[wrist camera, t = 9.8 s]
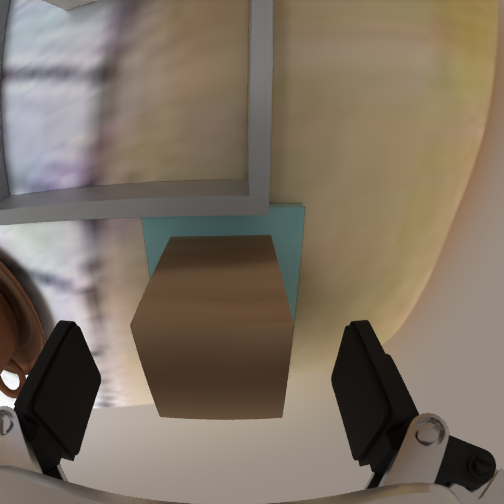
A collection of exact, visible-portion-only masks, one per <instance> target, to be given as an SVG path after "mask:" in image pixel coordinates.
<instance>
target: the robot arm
mask: <svg viewBox="0 0 504 504" xmlns="http://www.w3.org/2000/svg"><path fill="white" fill-rule="evenodd" d="M331 381H332V386H333V389H334V393H335V396H336V399H337V403H338V406H339V409H340V413H341V417H342V420H343V424H344V427H345V431H346V434H347V438H348V441H349V445H350V449H351V452H352V456H353V458H354V460H358V461H359V465H360V466H364V465H368V464H370V467H371V470H372V472H373V474H372V475H371V477H370V479H369V481H368V483H367V484H366V486H365V488H364V490H360V491H356V492H351V493H347V494H341V495H335V496H329V497H323V498H315V499H308V500H301V501H292V502H283V503H272V504H504V470H503V469H501V468H500V469H499V470H497V469H496V463H495V459H494V457H493V455H492V454H491V453H490V452H488V451H487V450H485V449H482V448H480V447H477V446H475V445H472V444H469V443H467V442H465V441H462V440H460V439H457V438H455V437H453V436H450V435H449V429H448V426H447V424H446V422H445V421H444V420H443V419H442V418H441V417H439V416H437V415H435V414H431V413H423V414H421V415H419V413H418V411H417V409H416V407H415V405H414V402H413V400H412V398H411V396H410V394H409V392H408V390H407V387H406V386H405V383H404V382H403V379H402V377H401V375H400V373H399V371H398V369H397V367H396V365H395V363H394V361H393V359H392V358H391V356H390V355H388V354H385V352H384V350H383V348H382V346H381V344H380V342H379V340H378V338H377V336H376V334H375V332H374V330H373V328H372V326H371V324H370V323H369V321H368V320H361V321H352V322H351V323H350V325H349V326H346V327H345V330H344V334H343V337H342V341H341V345H340V348H339V352H338V356H337V359H336V362H335V366H334V370H333V373H332V377H331ZM100 384H101V375H100V372H99V370H98V368H97V366H96V364H95V362H94V359H93V357H92V355H91V353H90V350H89V348H88V345H87V343H86V341H85V338H84V336H83V333H82V331H81V328H80V327H79V326H77V325H76V323H75V322H73V321H63V320H61V321H59V322H58V323H57V325H56V327H55V328H54V330H53V332H52V333H51V335H50V337H49V339H48V340H47V342H46V344H45V346H44V347H43V349H42V351H41V353H40V354H39V356H38V358H37V360H36V362H35V364H34V365H33V367H32V369H31V371H30V373H29V375H28V377H27V379H26V381H25V383H24V385H23V387H22V389H21V391H20V393H19V395H18V397H17V399H16V401H15V403H14V405H15V408H14V410H13V409H12V408H10V407H8V406H1V407H0V504H188V503H176V502H166V501H158V500H150V499H143V498H137V497H131V496H125V495H120V494H115V493H110V492H105V491H101V490H97V489H92V488H88V487H85V486H81V485H77V484H73V483H70V482H68V480H67V478H66V476H65V474H64V472H63V470H62V468H61V465H60V460H61V458H64V459H67V460H71V461H74V457H75V455H77V454H78V453H79V451H80V447H81V444H82V440H83V437H84V434H85V430H86V427H87V424H88V420H89V417H90V414H91V410H92V408H93V405H94V402H95V398H96V395H97V392H98V390H99V387H100ZM269 504H271V503H269Z"/></svg>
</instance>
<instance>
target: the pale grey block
mask: <svg viewBox="0 0 504 504" xmlns="http://www.w3.org/2000/svg"><path fill="white" fill-rule="evenodd" d="M43 1H46V2H48V3H50V4H53V5H55V6H57V7H59V8H62V9H64V10H69V9H72V8H75V7H78V6H81V5H85V4H88V3H91V2H95V1H99V0H43Z"/></svg>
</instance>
